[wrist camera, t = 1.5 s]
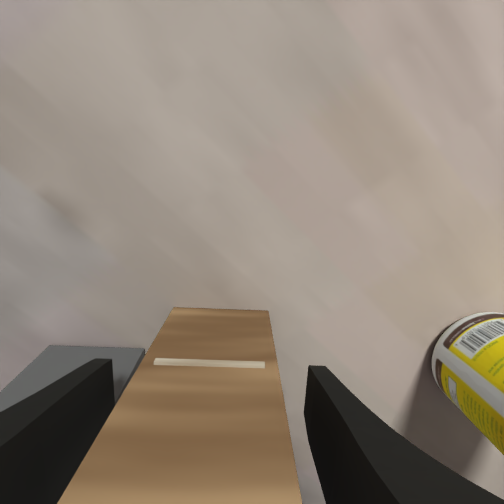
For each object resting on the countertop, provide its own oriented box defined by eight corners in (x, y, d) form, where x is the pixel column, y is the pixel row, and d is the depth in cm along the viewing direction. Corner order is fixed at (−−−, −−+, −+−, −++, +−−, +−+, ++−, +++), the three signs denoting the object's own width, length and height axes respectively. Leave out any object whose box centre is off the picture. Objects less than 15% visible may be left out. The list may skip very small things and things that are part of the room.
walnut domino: (173, 305, 16) (53, 503, 6) (268, 308, 16) (304, 508, 6) (173, 337, 16) (61, 573, 6) (266, 340, 16) (296, 575, 6)
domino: (49, 343, 16) (-251, 624, 6) (144, 346, 16) (-9, 625, 6) (54, 372, 16) (-215, 671, 7) (145, 374, 17) (7, 671, 7)
